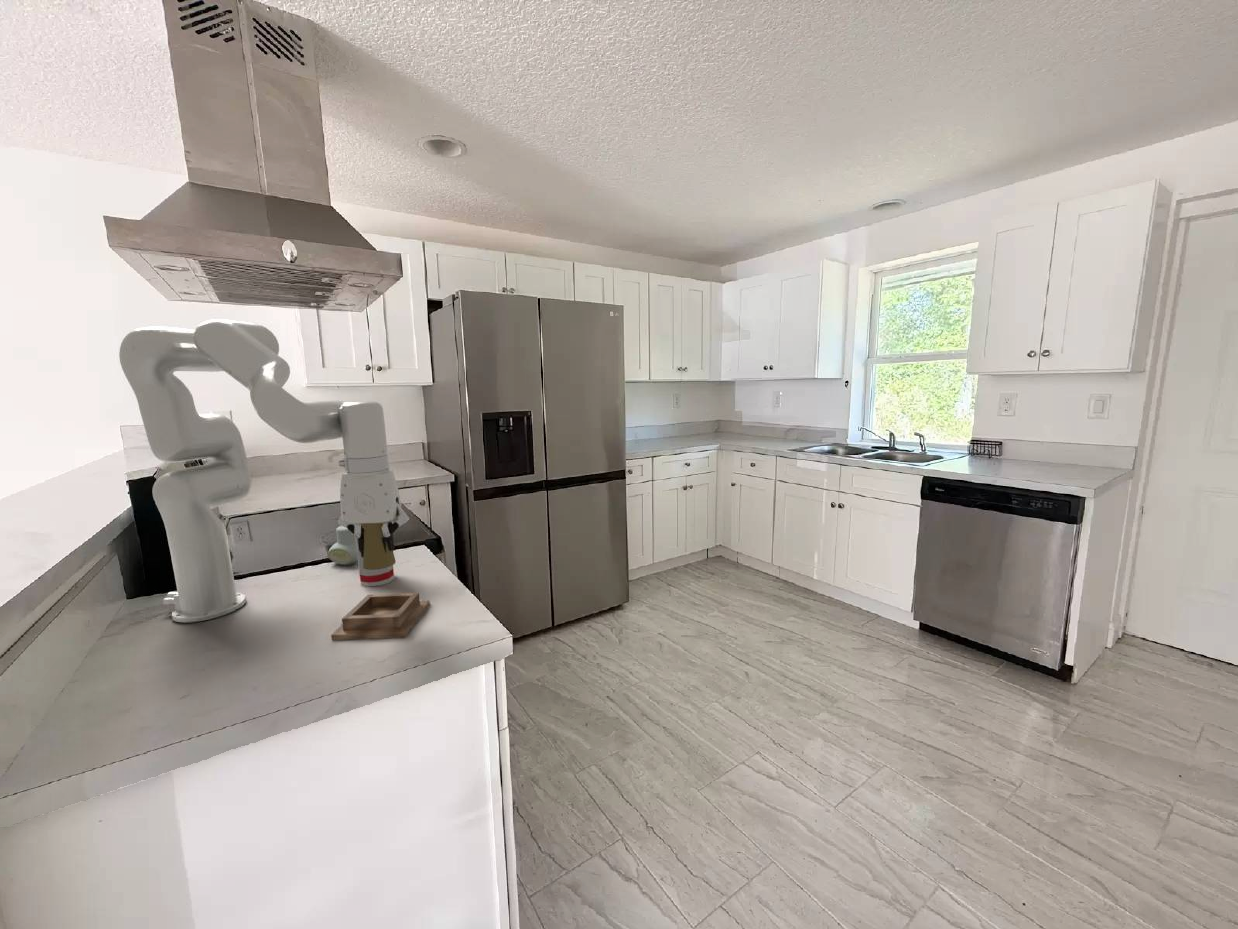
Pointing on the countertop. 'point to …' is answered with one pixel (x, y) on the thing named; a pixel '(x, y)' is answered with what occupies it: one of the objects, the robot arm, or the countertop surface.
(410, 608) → the walnut holder
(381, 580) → the white squeeze bottle
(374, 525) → the cork
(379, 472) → the robot arm
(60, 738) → the countertop surface
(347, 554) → the pale green rounded piece
